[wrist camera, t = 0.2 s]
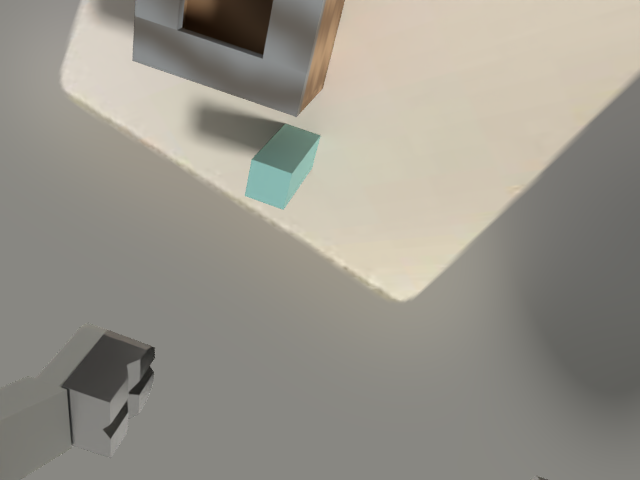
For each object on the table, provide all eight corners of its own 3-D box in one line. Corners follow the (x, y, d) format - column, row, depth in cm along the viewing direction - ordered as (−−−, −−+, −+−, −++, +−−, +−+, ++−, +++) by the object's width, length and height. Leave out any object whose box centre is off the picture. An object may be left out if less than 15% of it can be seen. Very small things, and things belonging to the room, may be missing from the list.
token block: (285, 123, 60) (251, 159, 52) (320, 135, 60) (292, 173, 52) (278, 156, 63) (244, 195, 54) (311, 168, 62) (283, 209, 54)
